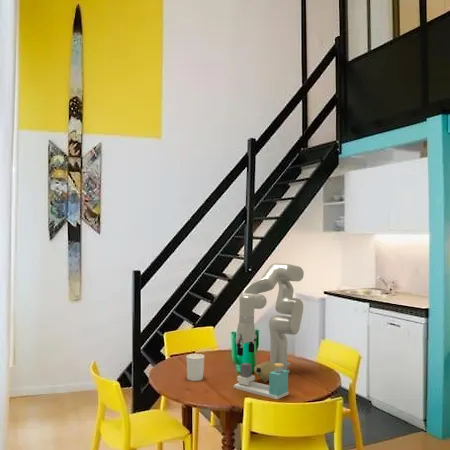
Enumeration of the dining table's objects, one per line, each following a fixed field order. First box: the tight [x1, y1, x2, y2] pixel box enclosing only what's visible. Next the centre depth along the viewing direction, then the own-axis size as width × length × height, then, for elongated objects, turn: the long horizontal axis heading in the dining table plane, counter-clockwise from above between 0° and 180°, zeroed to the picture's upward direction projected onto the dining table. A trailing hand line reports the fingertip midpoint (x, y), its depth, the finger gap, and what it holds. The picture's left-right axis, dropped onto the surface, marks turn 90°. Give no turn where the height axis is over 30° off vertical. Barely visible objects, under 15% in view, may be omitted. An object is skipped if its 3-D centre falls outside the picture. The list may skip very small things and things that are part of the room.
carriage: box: [236, 362, 256, 385], centre depth 254 cm, size 7×6×10 cm
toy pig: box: [253, 360, 276, 384], centre depth 264 cm, size 10×12×11 cm
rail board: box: [233, 370, 289, 400], centre depth 248 cm, size 10×26×12 cm, turn 52°
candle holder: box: [185, 353, 205, 382], centre depth 267 cm, size 10×10×12 cm
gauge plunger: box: [274, 363, 284, 373], centre depth 242 cm, size 4×4×7 cm
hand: (245, 353), depth 253 cm, fingers open, 9 cm apart
